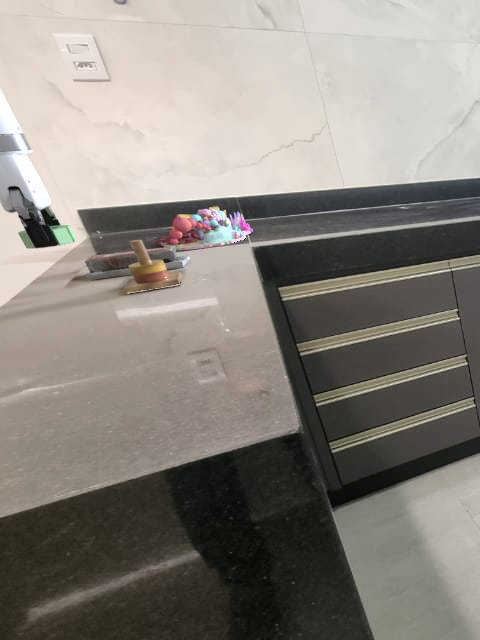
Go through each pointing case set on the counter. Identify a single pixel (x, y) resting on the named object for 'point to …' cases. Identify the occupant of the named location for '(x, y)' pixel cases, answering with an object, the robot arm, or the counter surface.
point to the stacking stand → (149, 271)
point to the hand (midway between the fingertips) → (51, 242)
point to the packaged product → (130, 262)
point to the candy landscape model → (205, 230)
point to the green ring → (60, 232)
